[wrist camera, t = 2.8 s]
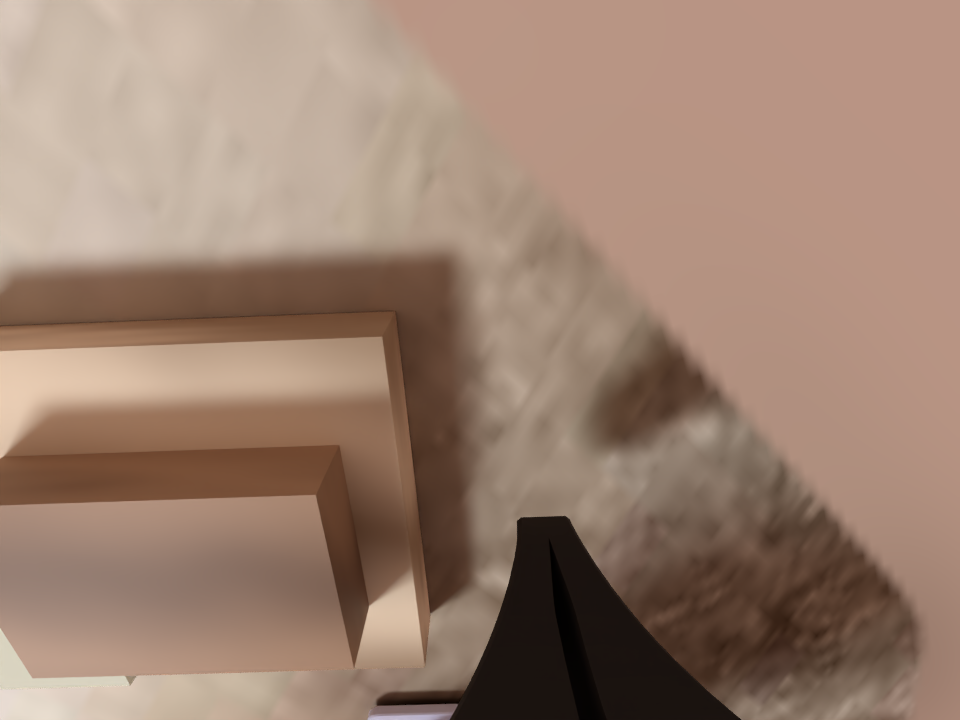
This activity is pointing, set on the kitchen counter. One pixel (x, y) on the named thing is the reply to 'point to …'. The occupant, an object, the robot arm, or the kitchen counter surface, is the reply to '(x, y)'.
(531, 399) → the kitchen counter surface
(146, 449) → the block
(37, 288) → the kitchen counter surface
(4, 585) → the walnut tile
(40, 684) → the sage mat
